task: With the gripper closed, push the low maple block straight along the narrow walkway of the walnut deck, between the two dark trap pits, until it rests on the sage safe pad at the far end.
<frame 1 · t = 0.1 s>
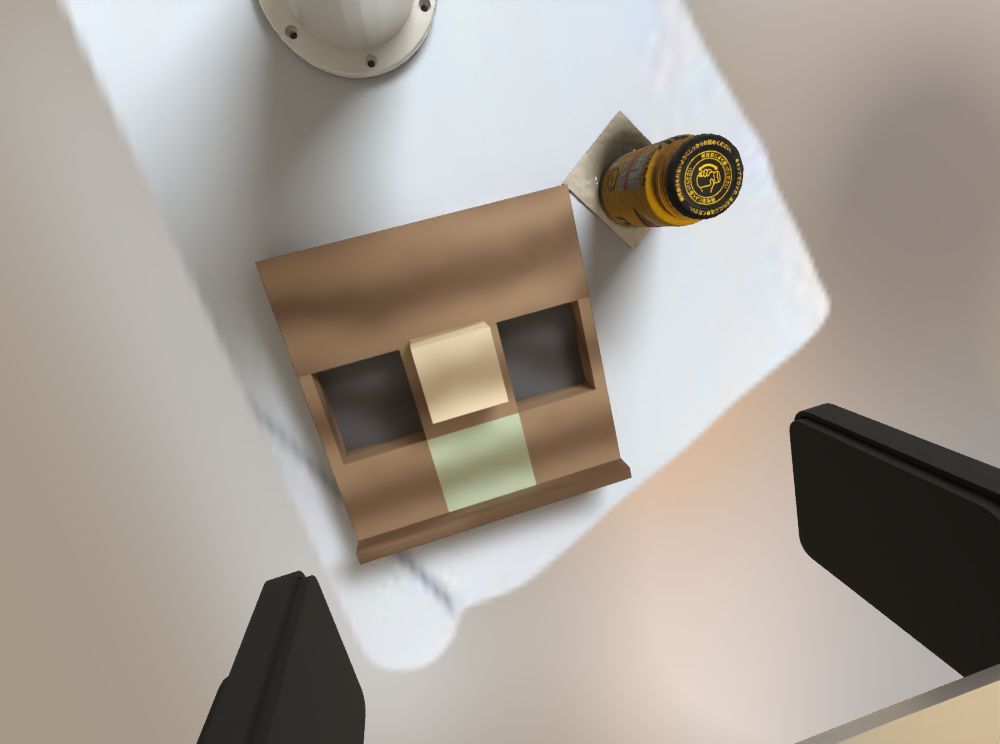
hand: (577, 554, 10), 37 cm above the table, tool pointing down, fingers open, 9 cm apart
condiment: (624, 182, 45), on the table
maple block: (456, 365, 43), point 3 cm above the table, touching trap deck
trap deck: (455, 367, 46), on the table
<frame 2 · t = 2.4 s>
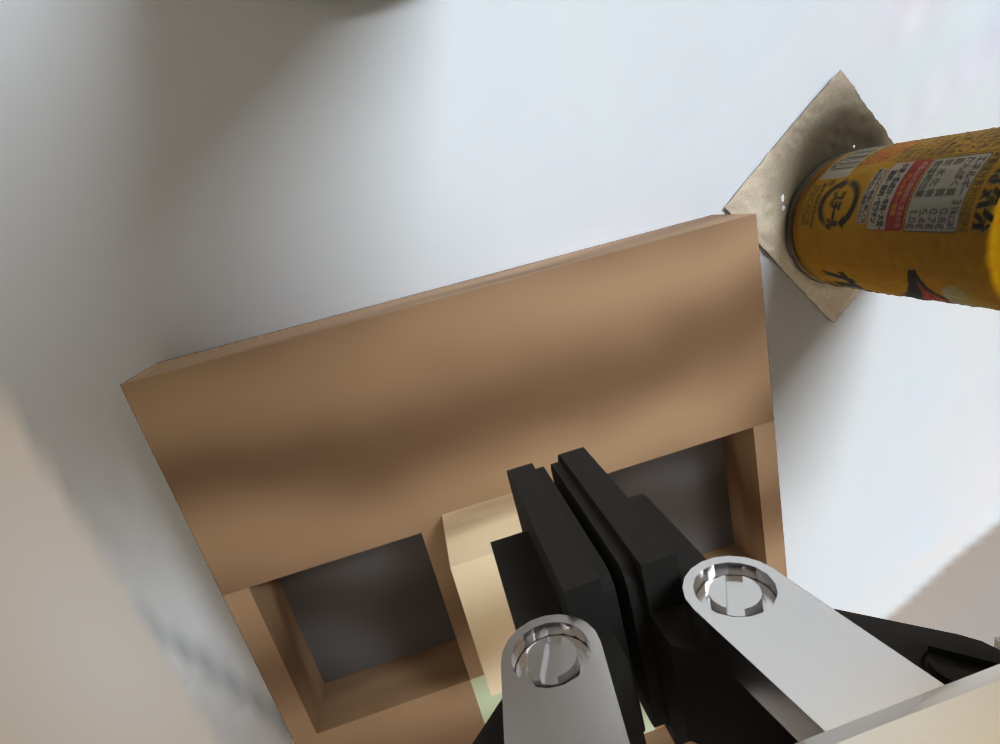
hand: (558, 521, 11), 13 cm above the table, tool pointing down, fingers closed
condiment: (828, 205, 25), on the table
maple block: (527, 552, 23), point 3 cm above the table, touching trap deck
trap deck: (517, 533, 26), on the table
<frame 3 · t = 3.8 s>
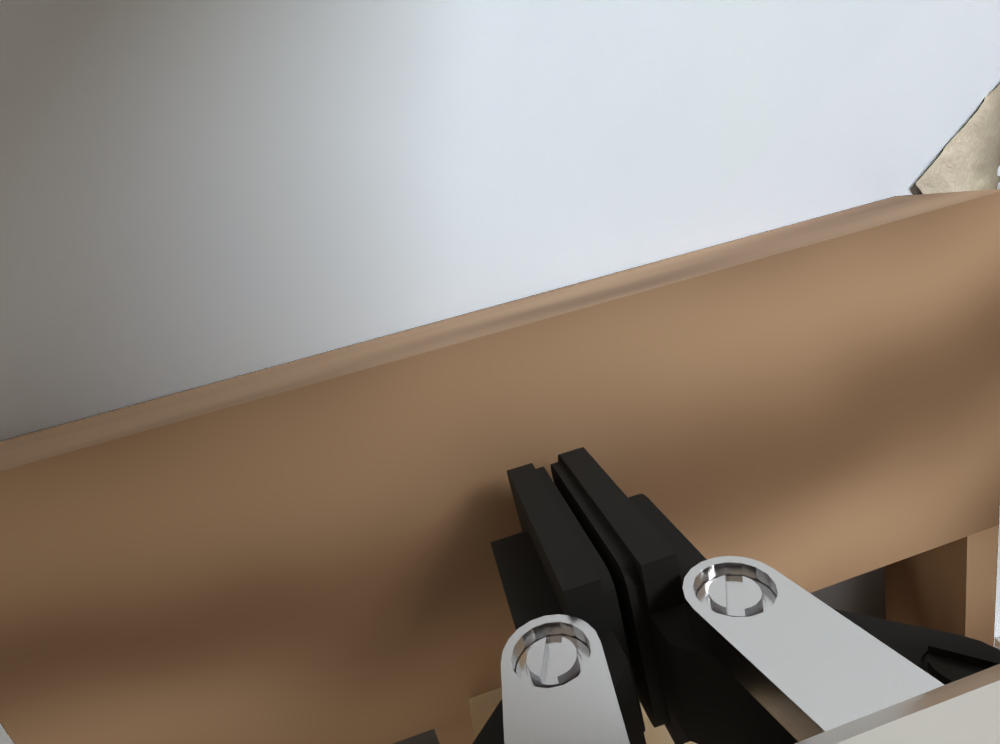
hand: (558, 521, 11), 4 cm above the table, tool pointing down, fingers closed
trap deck: (577, 682, 17), on the table
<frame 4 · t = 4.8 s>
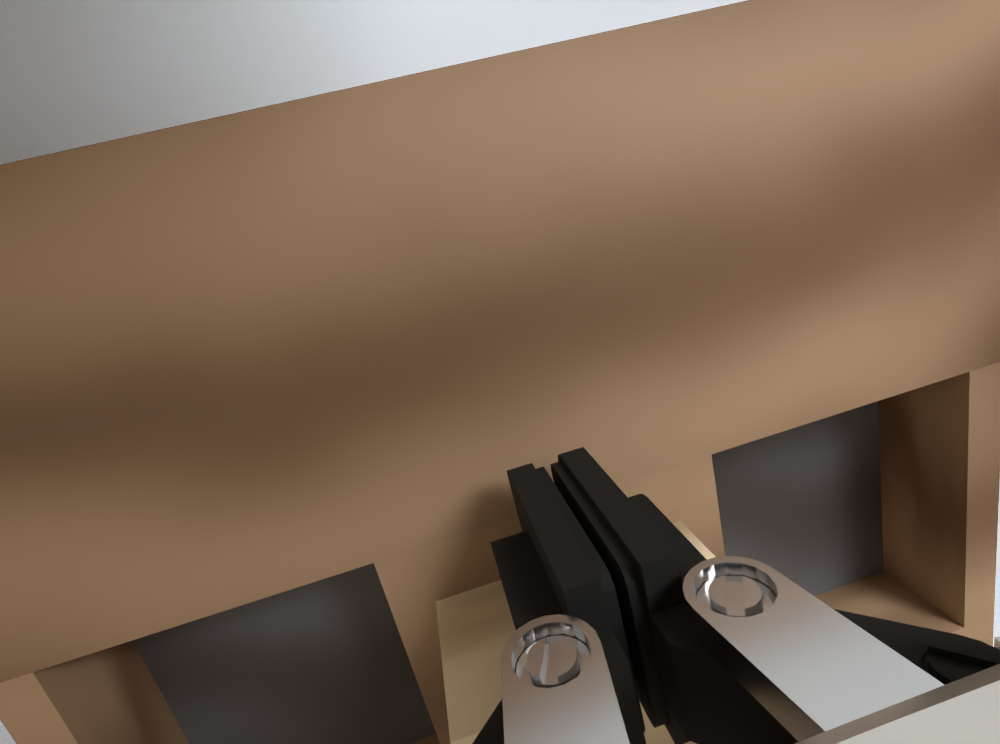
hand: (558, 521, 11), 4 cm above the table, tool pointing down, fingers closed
maple block: (585, 659, 13), point 3 cm above the table, touching gripper, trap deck
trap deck: (546, 558, 16), on the table
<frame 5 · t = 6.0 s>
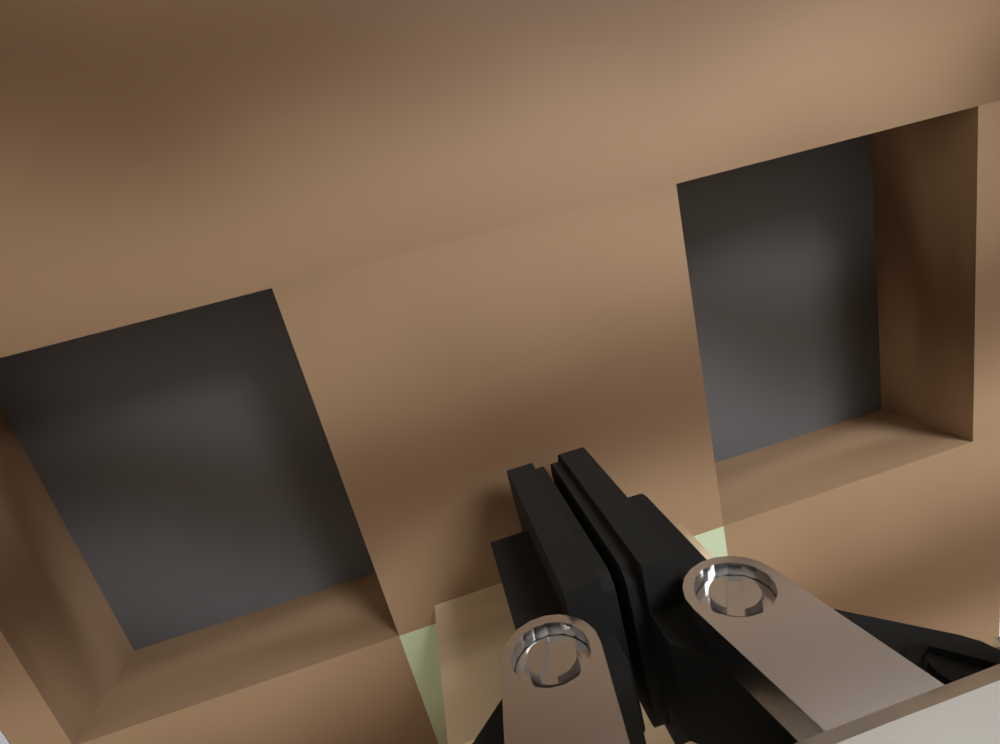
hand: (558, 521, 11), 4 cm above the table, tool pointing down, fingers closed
maple block: (585, 664, 13), point 3 cm above the table, touching gripper
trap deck: (498, 368, 14), on the table
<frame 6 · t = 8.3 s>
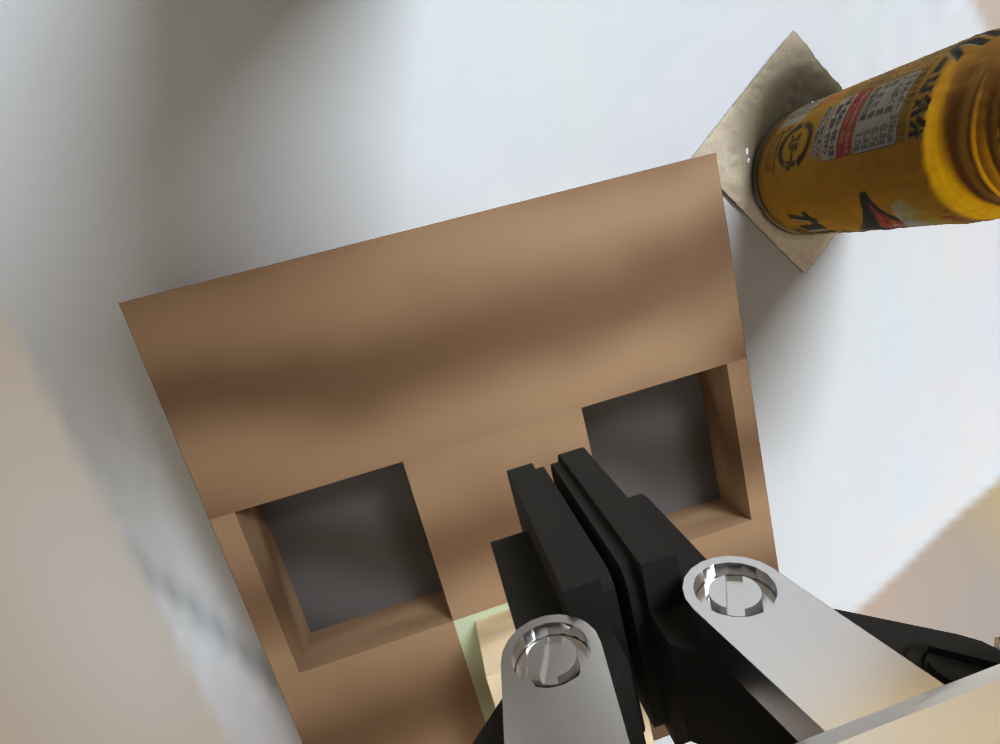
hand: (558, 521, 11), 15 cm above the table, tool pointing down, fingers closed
condiment: (792, 159, 26), on the table
maple block: (551, 652, 25), point 3 cm above the table, touching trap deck
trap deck: (501, 480, 27), on the table
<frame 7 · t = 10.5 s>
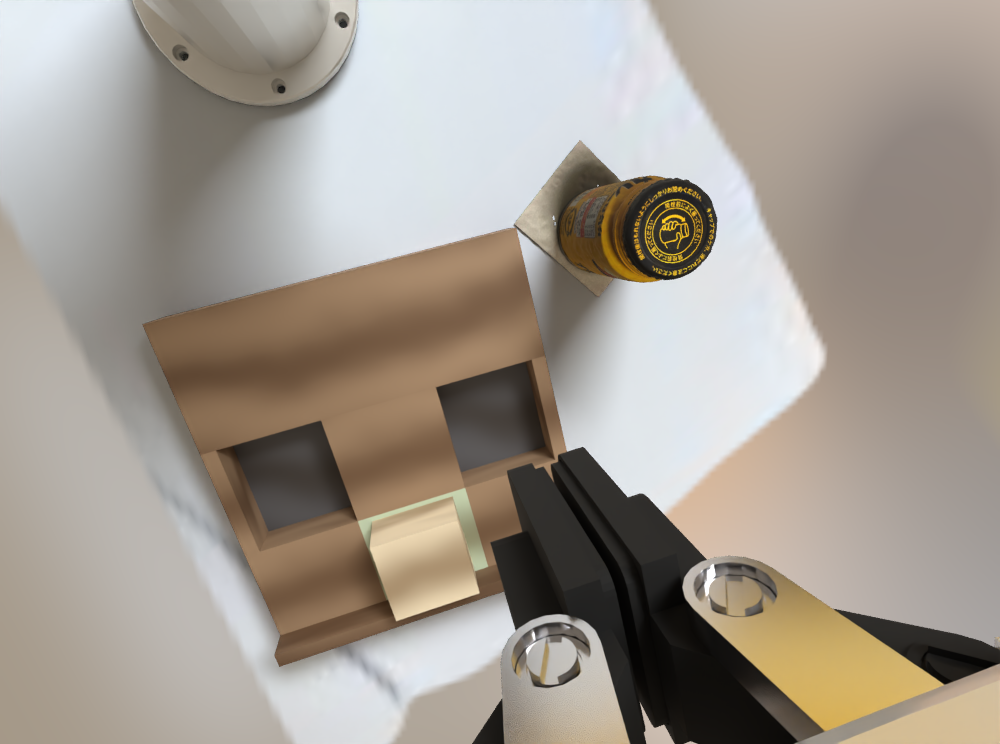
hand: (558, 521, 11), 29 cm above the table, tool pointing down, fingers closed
condiment: (587, 222, 39), on the table
maple block: (424, 543, 40), point 3 cm above the table, touching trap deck
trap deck: (394, 434, 40), on the table
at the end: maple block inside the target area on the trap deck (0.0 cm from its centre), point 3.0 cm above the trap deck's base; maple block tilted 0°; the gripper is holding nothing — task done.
